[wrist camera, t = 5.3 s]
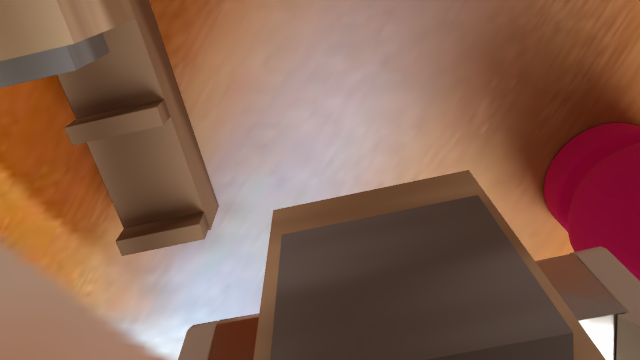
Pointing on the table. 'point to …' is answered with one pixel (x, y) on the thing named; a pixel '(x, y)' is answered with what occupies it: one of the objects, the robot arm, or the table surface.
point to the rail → (117, 110)
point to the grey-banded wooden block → (409, 281)
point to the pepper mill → (599, 191)
